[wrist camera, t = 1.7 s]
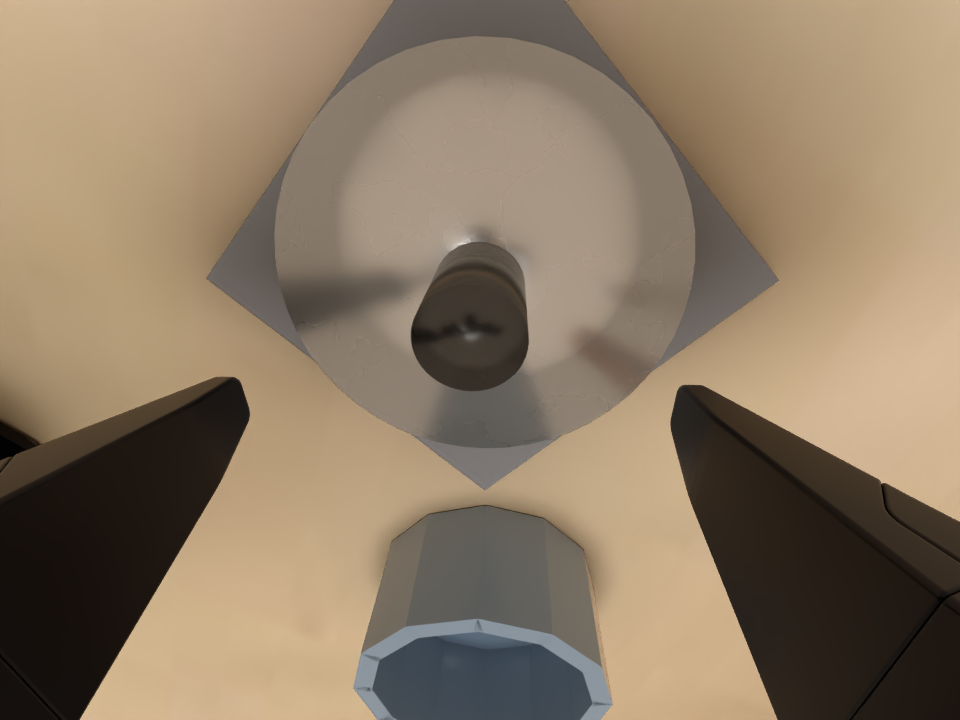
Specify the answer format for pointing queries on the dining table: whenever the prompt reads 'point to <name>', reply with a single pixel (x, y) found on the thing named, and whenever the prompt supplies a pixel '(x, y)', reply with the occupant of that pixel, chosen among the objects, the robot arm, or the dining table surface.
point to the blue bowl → (484, 624)
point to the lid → (484, 242)
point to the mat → (550, 22)
